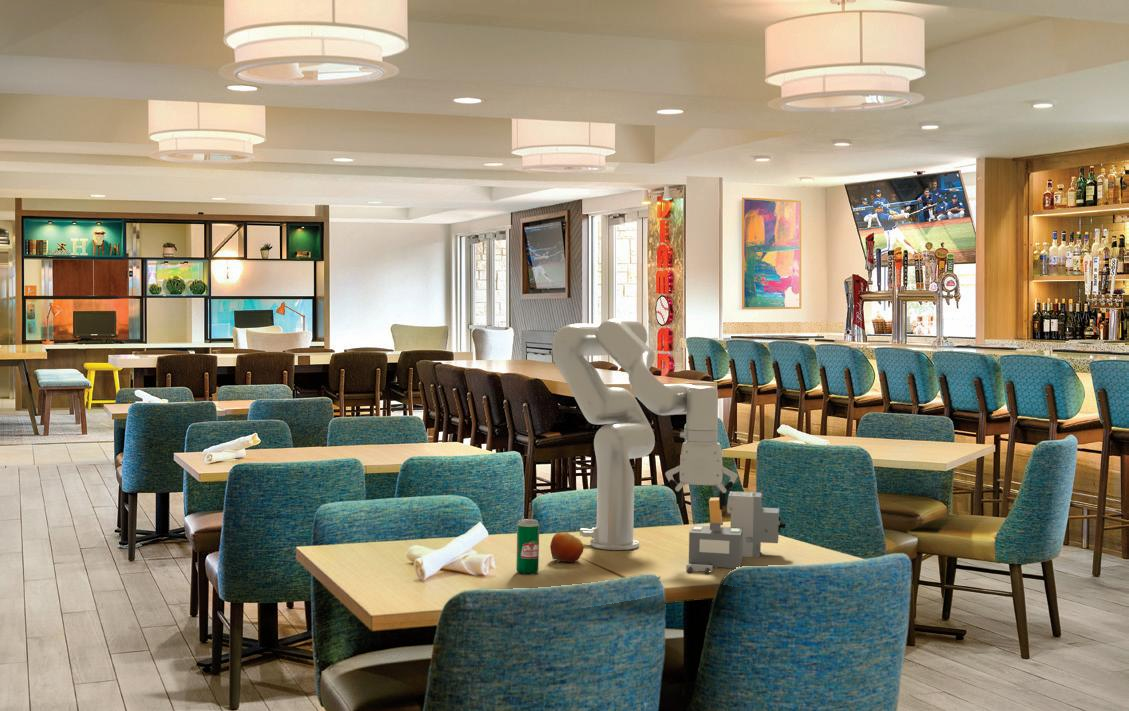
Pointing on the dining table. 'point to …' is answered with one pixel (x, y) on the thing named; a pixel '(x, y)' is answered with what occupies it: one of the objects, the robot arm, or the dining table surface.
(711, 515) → the lever
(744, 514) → the circuit breaker
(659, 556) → the dining table surface
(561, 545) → the fruit
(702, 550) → the panel
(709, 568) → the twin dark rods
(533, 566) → the soda can
